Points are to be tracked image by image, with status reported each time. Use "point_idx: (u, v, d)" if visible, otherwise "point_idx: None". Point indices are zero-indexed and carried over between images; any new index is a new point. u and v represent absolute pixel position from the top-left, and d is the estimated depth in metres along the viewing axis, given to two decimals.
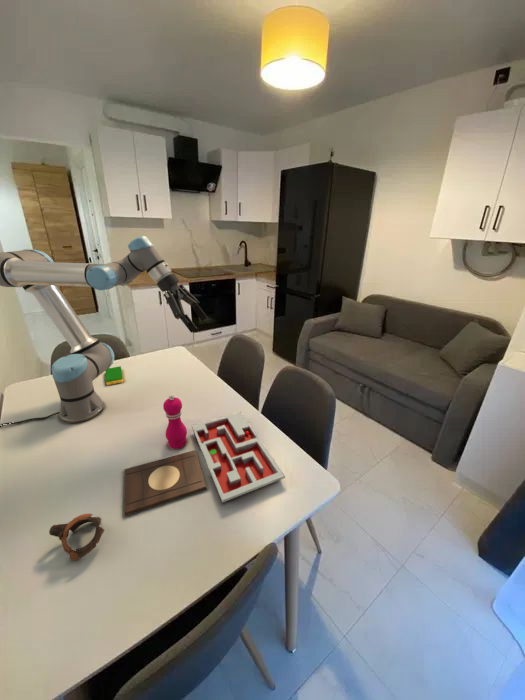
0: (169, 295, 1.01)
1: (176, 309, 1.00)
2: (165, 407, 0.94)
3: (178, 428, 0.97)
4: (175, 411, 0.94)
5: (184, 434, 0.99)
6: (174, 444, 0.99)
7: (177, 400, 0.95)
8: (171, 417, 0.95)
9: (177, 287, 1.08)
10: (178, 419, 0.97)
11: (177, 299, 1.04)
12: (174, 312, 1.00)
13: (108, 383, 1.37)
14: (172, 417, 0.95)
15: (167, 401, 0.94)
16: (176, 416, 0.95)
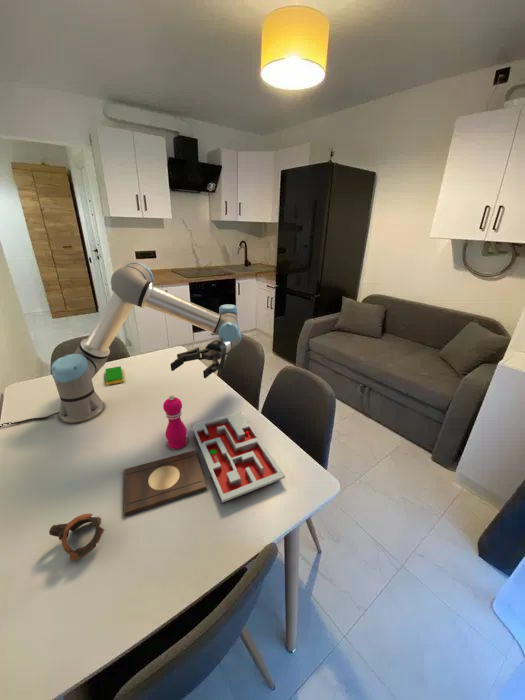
0: (225, 359, 1.12)
1: (224, 365, 1.06)
2: (165, 407, 0.94)
3: (178, 428, 0.97)
4: (175, 411, 0.94)
5: (184, 434, 0.99)
6: (174, 444, 0.99)
7: (177, 400, 0.95)
8: (171, 417, 0.95)
9: None
10: (178, 419, 0.97)
11: None
12: (224, 363, 1.05)
13: (108, 383, 1.37)
14: (172, 417, 0.95)
15: (167, 401, 0.94)
16: (176, 416, 0.95)
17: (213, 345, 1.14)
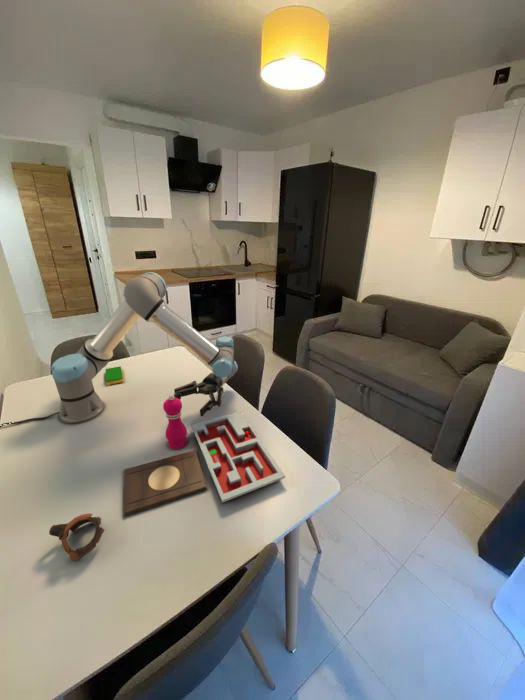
0: (222, 393, 1.14)
1: None
2: (165, 407, 0.94)
3: (178, 428, 0.97)
4: (175, 411, 0.94)
5: (184, 434, 0.99)
6: (174, 444, 0.99)
7: (177, 400, 0.95)
8: (171, 417, 0.95)
9: None
10: (178, 419, 0.97)
11: None
12: (220, 400, 1.08)
13: (108, 383, 1.37)
14: (172, 417, 0.95)
15: (167, 401, 0.94)
16: (176, 416, 0.95)
17: (210, 379, 1.16)
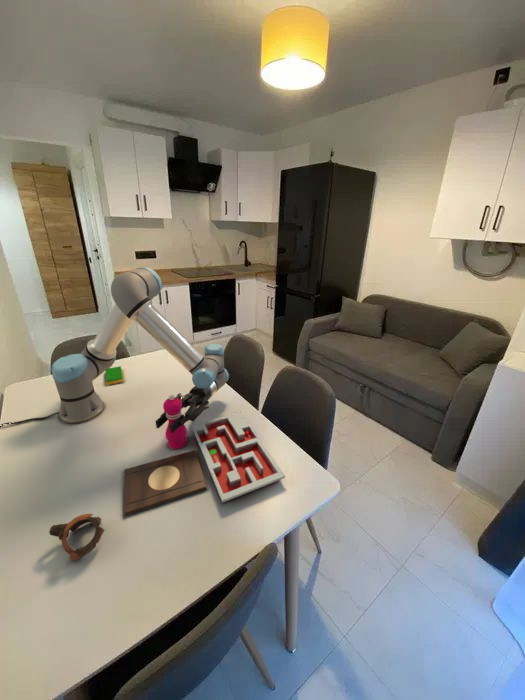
0: (206, 407, 1.05)
1: (197, 416, 1.00)
2: (165, 407, 0.94)
3: (178, 428, 0.97)
4: (175, 411, 0.94)
5: (184, 434, 0.99)
6: (174, 444, 0.99)
7: (177, 400, 0.95)
8: (171, 417, 0.95)
9: None
10: None
11: None
12: (196, 414, 0.99)
13: (108, 383, 1.37)
14: (172, 417, 0.95)
15: (167, 401, 0.94)
16: (176, 416, 0.95)
17: (197, 390, 1.09)
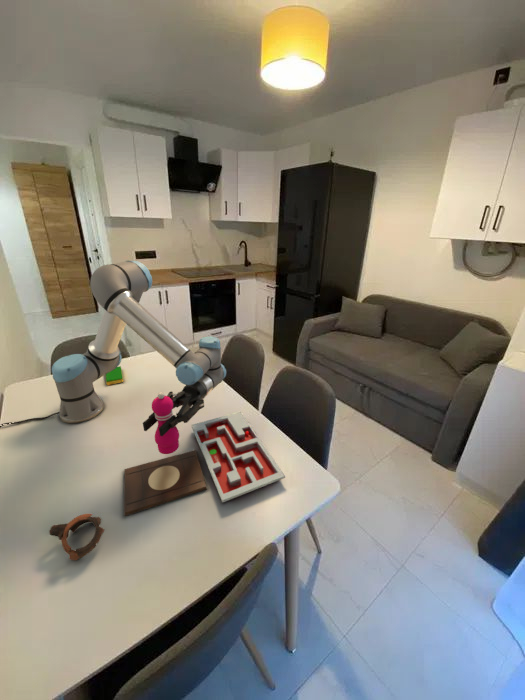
0: (201, 407, 0.93)
1: (190, 417, 0.88)
2: (154, 407, 0.82)
3: (169, 430, 0.86)
4: (165, 411, 0.82)
5: (176, 437, 0.88)
6: (164, 449, 0.88)
7: (167, 399, 0.84)
8: (161, 418, 0.83)
9: None
10: None
11: None
12: (189, 415, 0.87)
13: (108, 383, 1.37)
14: (162, 418, 0.83)
15: (156, 400, 0.83)
16: (166, 417, 0.84)
17: (191, 387, 0.97)
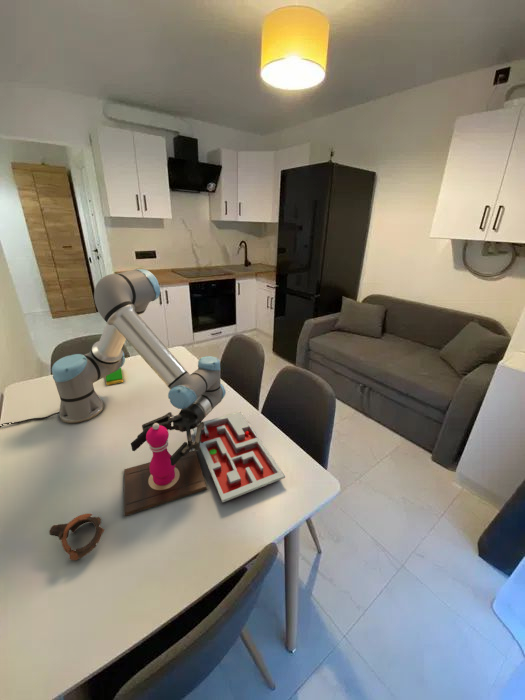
0: (202, 430, 0.91)
1: (199, 443, 0.85)
2: (148, 438, 0.78)
3: (164, 461, 0.82)
4: (160, 443, 0.79)
5: (171, 468, 0.84)
6: (160, 480, 0.84)
7: (162, 429, 0.80)
8: (155, 449, 0.80)
9: None
10: (164, 451, 0.82)
11: None
12: (199, 441, 0.84)
13: (108, 383, 1.37)
14: (156, 449, 0.80)
15: (150, 431, 0.79)
16: (161, 448, 0.80)
17: (188, 411, 0.93)
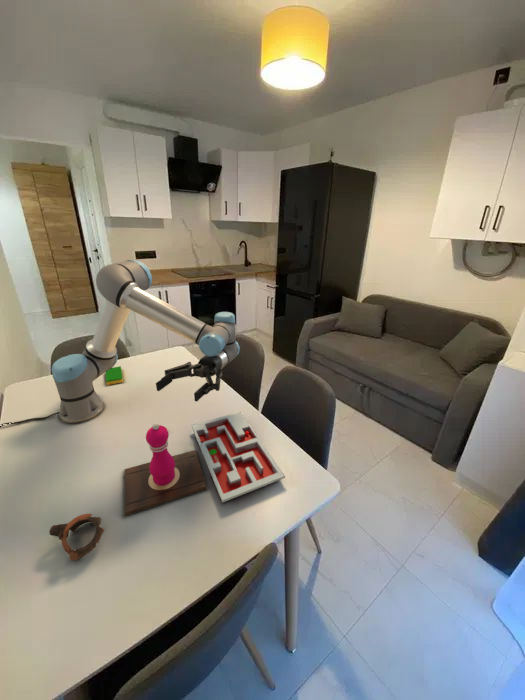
0: (221, 376, 0.96)
1: (219, 385, 0.91)
2: (148, 438, 0.78)
3: (164, 461, 0.82)
4: (160, 443, 0.79)
5: (171, 468, 0.84)
6: (160, 480, 0.84)
7: (162, 429, 0.80)
8: (155, 449, 0.80)
9: None
10: (164, 451, 0.82)
11: None
12: (219, 382, 0.90)
13: (108, 383, 1.37)
14: (156, 449, 0.80)
15: (150, 431, 0.79)
16: (161, 448, 0.80)
17: (207, 359, 0.99)
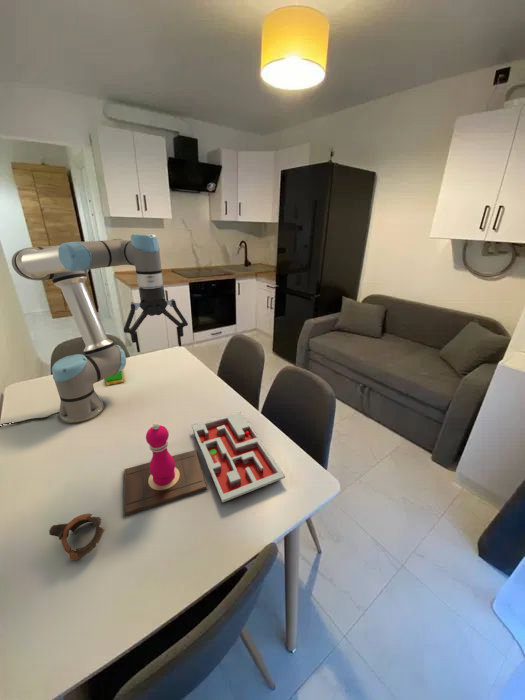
0: None
1: (125, 325, 0.92)
2: (148, 438, 0.78)
3: (164, 461, 0.82)
4: (160, 443, 0.79)
5: (171, 468, 0.84)
6: (160, 480, 0.84)
7: (162, 429, 0.80)
8: (155, 449, 0.80)
9: (159, 303, 0.93)
10: (164, 451, 0.82)
11: (141, 315, 0.93)
12: (125, 325, 0.93)
13: (108, 383, 1.37)
14: (156, 449, 0.80)
15: (150, 431, 0.79)
16: (161, 448, 0.80)
17: None
